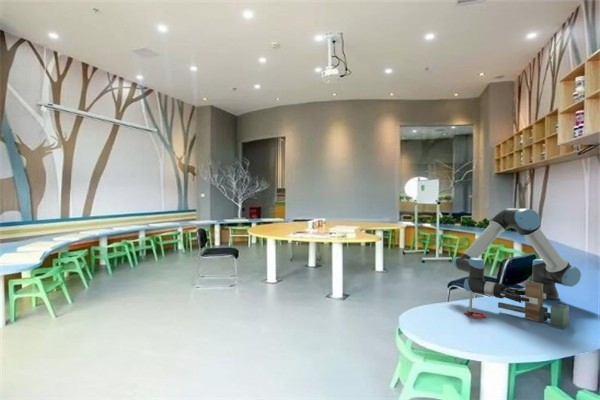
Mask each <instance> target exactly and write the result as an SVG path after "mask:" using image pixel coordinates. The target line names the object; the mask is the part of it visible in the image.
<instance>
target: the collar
mask: <svg viewBox="0 0 600 400" xmlns="http://www.w3.org/2000/svg"><path fill="white" fill-rule="evenodd" d="M548 310H549V307H546V306H543V307H542V308H540V309H539V321H538V322H541V323H545V322H547V321H548V320H549V319H547V318H545V312H549V311H548Z"/></svg>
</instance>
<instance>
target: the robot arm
mask: <svg viewBox="0 0 600 400" xmlns="http://www.w3.org/2000/svg"><path fill="white" fill-rule="evenodd" d="M508 229H515V230H516V232H518V234H519V235H520V236H524V237H525V239H526V240H527V241H528V243H529V244H530V246H531V247H532V248H533V250H534V251H535V252H536V253H537V255H538V256H539V257H540V258H538V259H533V260H532V265H531V266H532V267H531V268H532V269H531V270H532V273H531V274H532V275H531V276H532V278H531V279H532V281H531V282H536V283H542V284H543V300H551V301H552V300H553V301H554V300H559V299H560V298H559V297H560V296H559V291H558V289H557V287H556V284H558V285H562V286H563V287H569V288H571V287H574V286H576V285H577V284H579V282H580V281H581V277H582V273H581V271H580V269H579V268H578V267H576V266H573V265H571V264H570V263H569V261H568V260H567V259H566V258H563V257H561V256H560V254H559V252H557V250H556V249H555V247H554V246H553V245H552V243H551V242H550V240H549V239H548V238H547V237H546V235H545V234H544V232H543V231H542V229H541V216H540V215H539V213H538V212H537V211H535V210H534V209H531V208H526V207H524V208H523V207H522V208H518V207H517V208H514V207H509V208H505V209H502V210H500V211H499V212H498V213H497V214H495V216H493V217H492V219H490V221H489V224H488V226H487V227H486V228H485V229H484V230H483V231H482V232H481V234H480V235H479V236H478V237H477V238H476V239H475V240H474V241H473V242H472V243H471V245H470V246H469V247H468V248H467V249H466V250H465V251H464V252H463V253H462V254H461V256H456V257H454V259H452V264H453V267H454V268H456V270H459V271H462V272H465V273H468V277H467V278H465V279H464V283H463V288H464V290H465V291H467V292H468V293H469V292H470V291H472V294H476V295H477V294H478V295H483V296H488V297H489V298H490V297H493V298H494V297H495V298H497V299H504V298H505V299H508V300H511V301H513V302H516V303H520V304H522V302H524V303H525V302H527V303H532V304H538V299H537V298H532V297H527V296H525V288H524V289H523V288H516V287H515V288H514V287H508V288H506V287H505V284H503V283H498V282H492V281H486V280H485V261H484V260H485V259H483V258H482V257H481V256H482V254H483V253H484V252H485V251H486V250H487V249H488V247H490V246H491V244H492V243H493V242H494V241H495V239H497V238H498V236H499V235H500V234H501V233H504V232H506V230H508ZM480 257H481V258H480Z"/></svg>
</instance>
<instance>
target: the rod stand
mask: <svg viewBox="0 0 600 400" xmlns="http://www.w3.org/2000/svg"><path fill="white" fill-rule="evenodd" d="M497 307H498V308H499V309H502V310H503V309H504V310H507V311H513V312H517V313H520V314H525V306H519V305H515V304H511V303H506V302H501V301H499V302H498V303H497ZM545 318H547V319H548V320H549V321H550V325H549V326H550V327H551V328H555V329H560V330H565V329H566V328H567V327H568V326H569V324H570V322H569V321H570V320H569V319H570V306H569V305H566V304H561V303H554V304H553V305H552V306H550V312H549V311H548V312H545Z"/></svg>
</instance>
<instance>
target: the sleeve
mask: <svg viewBox="0 0 600 400" xmlns="http://www.w3.org/2000/svg"><path fill="white" fill-rule="evenodd" d="M524 285H525V286H524V287H525V288H524V289H525V295H524V296H527V297H532V298H537V299H538V304H532V303H527V302H524V307H525V313H524V319H527V320H532V321H535V322H539V309H540V308H542V307H544V299H543V284H542V283H536V282H532V281H528V282H525V284H524Z"/></svg>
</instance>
